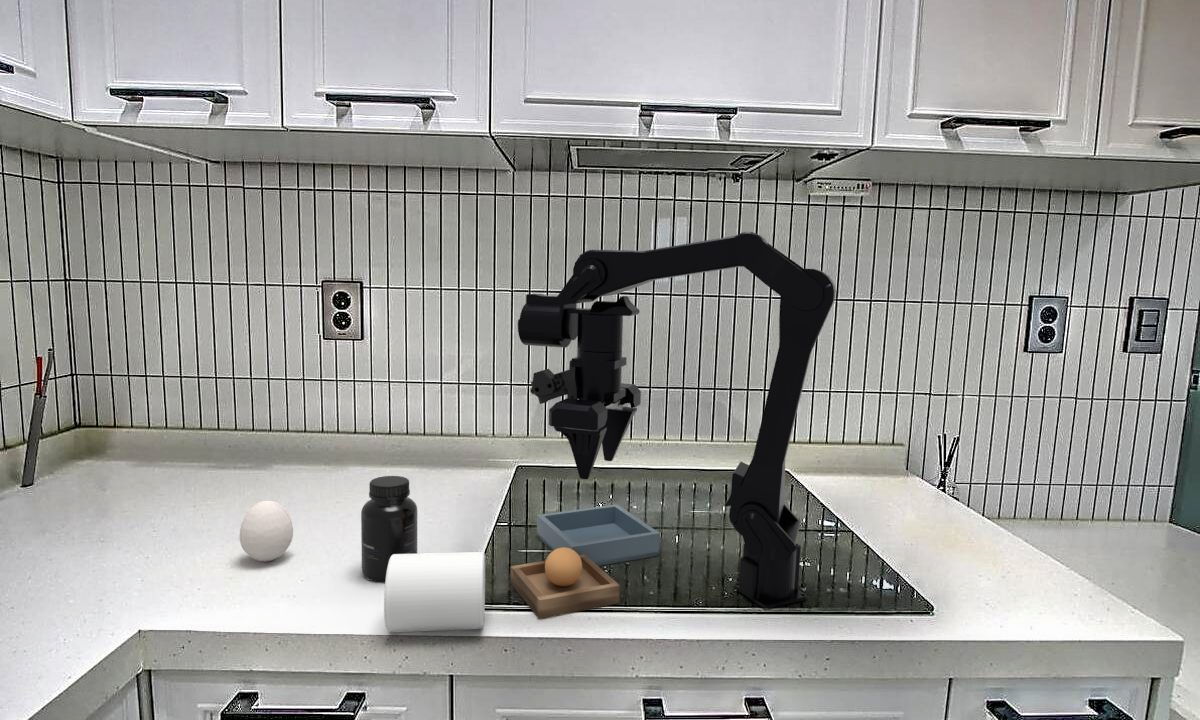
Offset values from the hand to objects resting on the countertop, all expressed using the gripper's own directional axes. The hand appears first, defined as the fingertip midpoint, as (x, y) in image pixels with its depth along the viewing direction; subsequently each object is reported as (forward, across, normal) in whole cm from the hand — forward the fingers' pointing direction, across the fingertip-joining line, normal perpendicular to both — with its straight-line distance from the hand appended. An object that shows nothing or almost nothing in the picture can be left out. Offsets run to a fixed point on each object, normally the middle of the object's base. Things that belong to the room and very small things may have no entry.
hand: (596, 469), depth 94 cm
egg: (+13, +15, -40) cm, 45 cm away
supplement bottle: (+13, +12, -23) cm, 29 cm away
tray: (+13, +9, -1) cm, 16 cm away
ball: (+10, +9, -1) cm, 13 cm away
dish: (+13, -6, -2) cm, 15 cm away
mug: (+13, +20, -11) cm, 26 cm away
